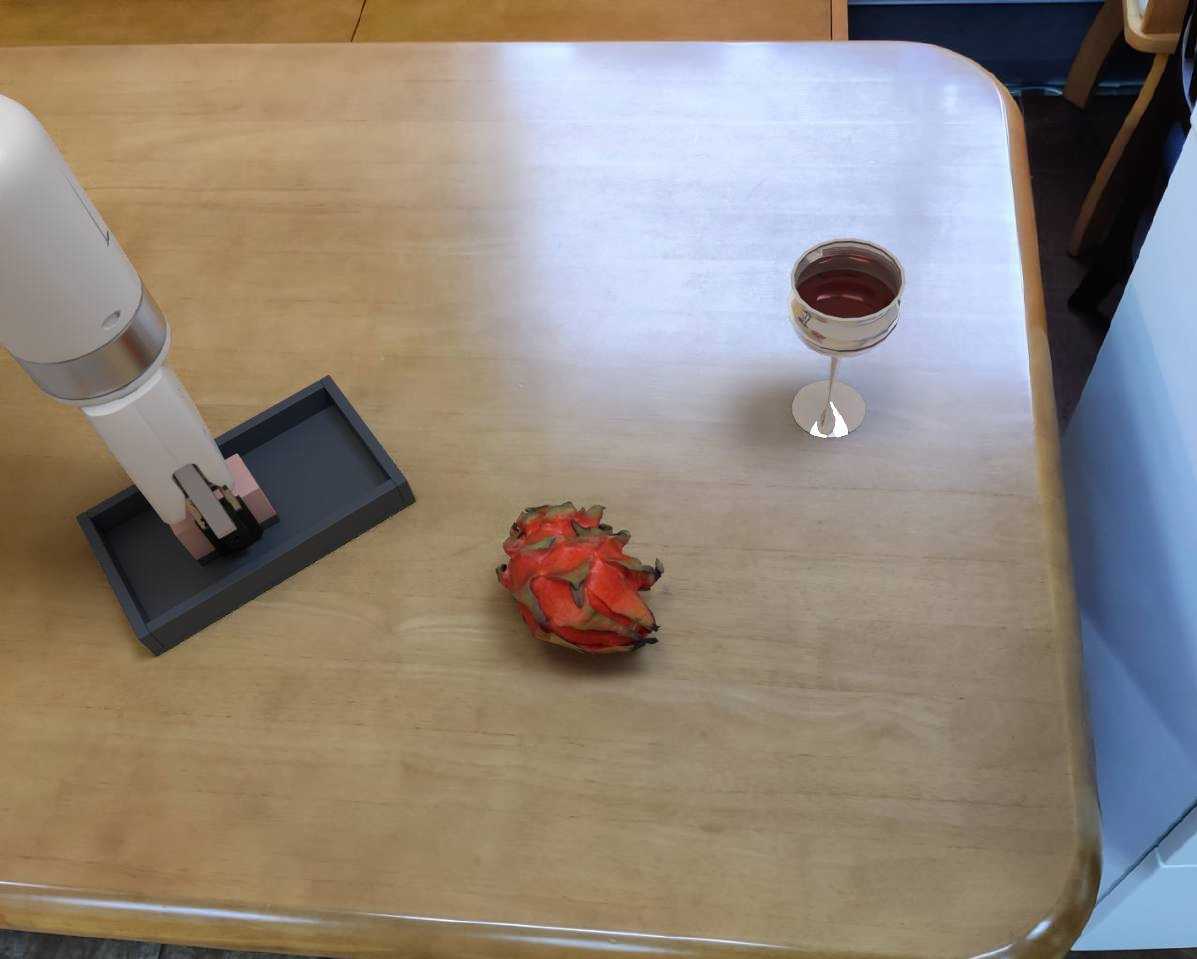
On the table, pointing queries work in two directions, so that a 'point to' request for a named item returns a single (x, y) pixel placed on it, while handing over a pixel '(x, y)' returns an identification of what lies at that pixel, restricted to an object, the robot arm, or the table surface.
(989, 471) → the table surface
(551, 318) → the table surface
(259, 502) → the eraser
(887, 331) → the wineglass
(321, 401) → the tray
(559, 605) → the dragon fruit
